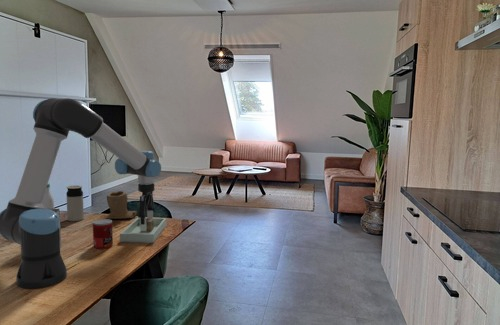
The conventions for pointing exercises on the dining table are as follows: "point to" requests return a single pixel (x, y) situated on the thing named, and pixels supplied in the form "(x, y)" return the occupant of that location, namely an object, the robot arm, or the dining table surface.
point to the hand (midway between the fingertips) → (146, 226)
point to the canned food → (102, 233)
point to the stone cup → (119, 206)
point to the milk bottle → (48, 199)
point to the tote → (136, 236)
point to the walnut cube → (149, 225)
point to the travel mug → (75, 203)
